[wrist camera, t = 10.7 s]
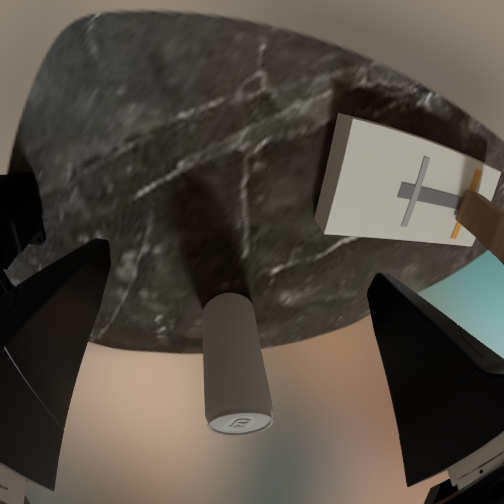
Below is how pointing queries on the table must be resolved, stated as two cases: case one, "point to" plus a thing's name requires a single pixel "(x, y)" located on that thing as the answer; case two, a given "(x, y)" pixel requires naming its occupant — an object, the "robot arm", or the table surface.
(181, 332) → the table surface
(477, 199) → the lever
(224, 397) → the beverage can
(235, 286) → the table surface
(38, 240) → the robot arm
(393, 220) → the fader console
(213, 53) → the table surface
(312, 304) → the table surface
